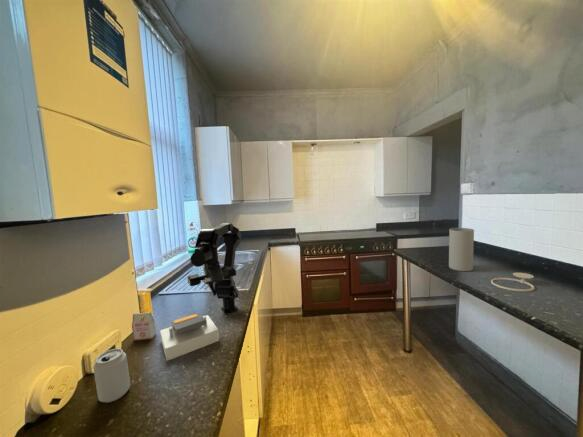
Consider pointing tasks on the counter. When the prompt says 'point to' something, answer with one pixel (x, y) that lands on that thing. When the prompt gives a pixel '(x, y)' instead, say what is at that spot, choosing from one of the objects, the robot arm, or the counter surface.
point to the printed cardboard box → (143, 326)
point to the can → (111, 375)
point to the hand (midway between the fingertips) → (214, 295)
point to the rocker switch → (188, 323)
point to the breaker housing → (188, 339)
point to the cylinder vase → (461, 249)
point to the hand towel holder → (520, 275)
